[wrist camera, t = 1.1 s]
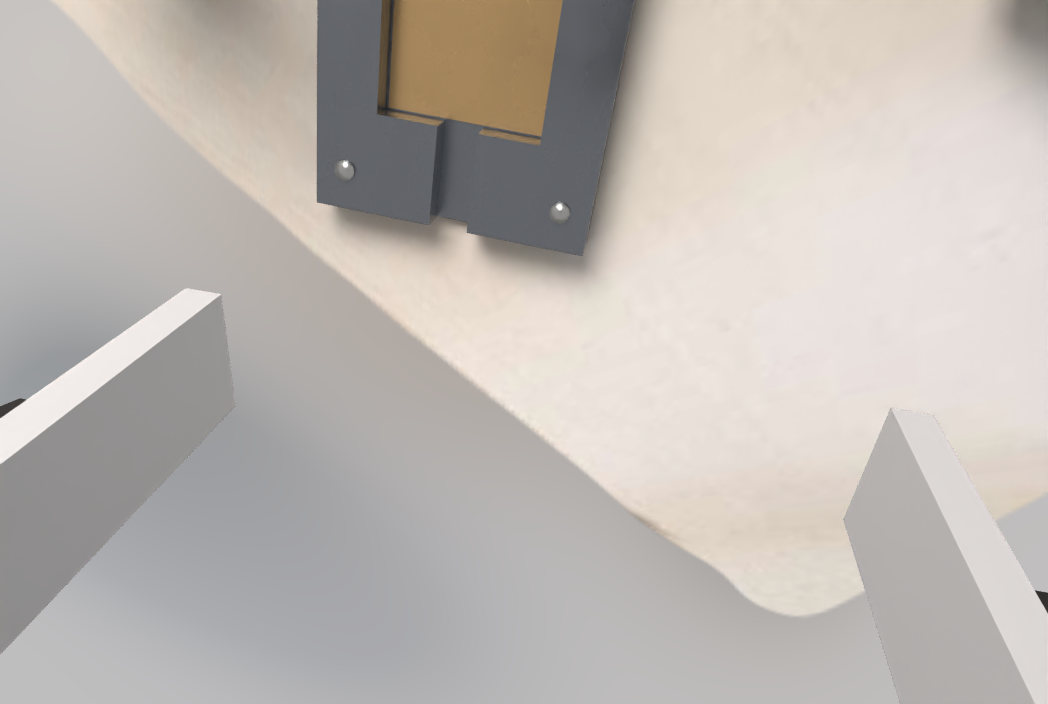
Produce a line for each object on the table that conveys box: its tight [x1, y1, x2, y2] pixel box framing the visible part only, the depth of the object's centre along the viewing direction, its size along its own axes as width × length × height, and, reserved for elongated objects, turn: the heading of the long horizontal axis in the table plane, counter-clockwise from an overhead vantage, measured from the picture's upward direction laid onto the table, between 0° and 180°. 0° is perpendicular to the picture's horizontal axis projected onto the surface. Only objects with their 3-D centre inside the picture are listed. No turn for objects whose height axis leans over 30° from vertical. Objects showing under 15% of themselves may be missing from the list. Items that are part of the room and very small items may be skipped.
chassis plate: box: [317, 0, 635, 256], centre depth 33 cm, size 18×14×2 cm
